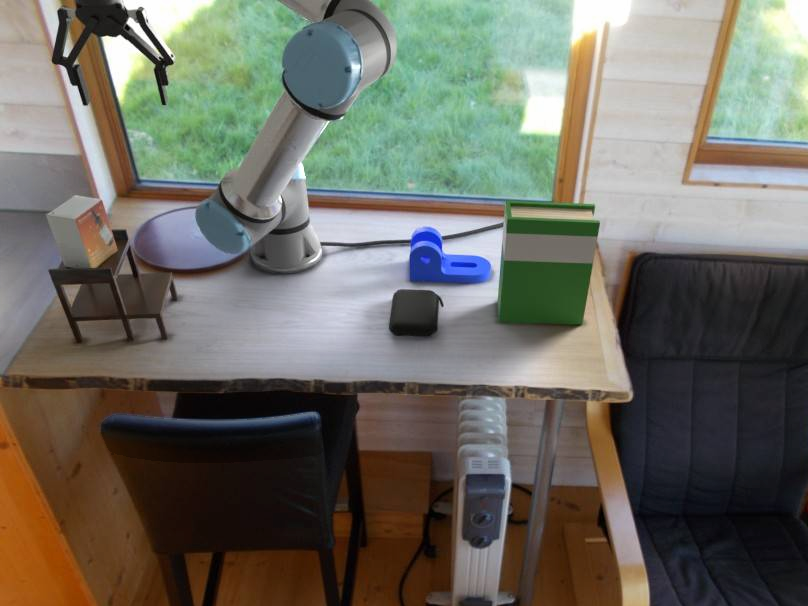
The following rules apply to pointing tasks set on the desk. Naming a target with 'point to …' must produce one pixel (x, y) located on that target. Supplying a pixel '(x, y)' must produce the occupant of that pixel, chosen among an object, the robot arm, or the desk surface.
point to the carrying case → (414, 313)
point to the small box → (82, 232)
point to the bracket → (443, 261)
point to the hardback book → (546, 261)
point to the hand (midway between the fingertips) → (126, 102)
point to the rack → (114, 291)
